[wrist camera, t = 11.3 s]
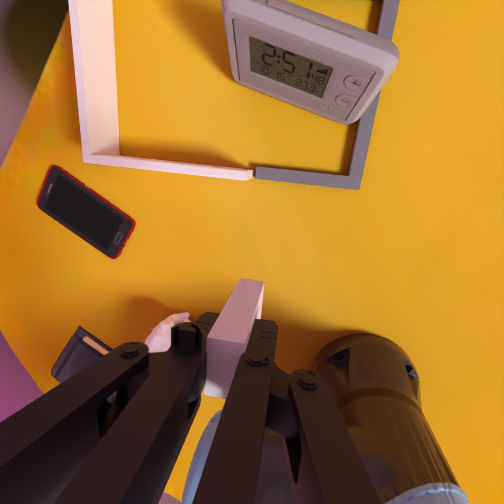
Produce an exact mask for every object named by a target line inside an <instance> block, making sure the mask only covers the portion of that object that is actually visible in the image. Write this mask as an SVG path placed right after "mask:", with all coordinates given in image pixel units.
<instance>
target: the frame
mask: <svg viewBox="0 0 504 504" xmlns="http://www.w3.org/2000/svg"><path fill="white" fill-rule="evenodd" d="M376 1H382V5H381V10H380V15H379V20H378V25H377V30H376V35H378V36H381V37H383V38H386V39H388V40H390V41H391V39H392V35H393V30H394V25H395V21H396V16H397V11H398V7H399V2H400V0H376ZM380 91H381V89H380ZM380 91H379V92H378V94H377V95H376V96H375V98H374V99H373V101H372V102H371V103H370V105H369V106H368V108H367V109H366V110H365V112H364V113H363V114H362V116H361V117H360V118H359V121H358V126H357V131H356V136H355V141H354V146H353V151H352V156H351V161H350V166H349V171H348V176H345V175H335V174H326V173H316V172H307V171H298V170H288V169H279V168H269V167H260V166H257V167H256V177H255V179H264V180H273V181H282V182H291V183H300V184H309V185H318V186H327V187H336V188H345V189H354V190H359V188H360V184H361V179H362V174H363V170H364V165H365V160H366V156H367V151H368V146H369V142H370V137H371V132H372V128H373V123H374V118H375V114H376V109H377V104H378V100H379V95H380Z"/></svg>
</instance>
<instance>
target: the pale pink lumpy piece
mask: <svg viewBox="0 0 504 504" xmlns="http://www.w3.org/2000/svg"><path fill="white" fill-rule="evenodd" d="M189 316H190V314H189V313H188V312H183V313H179V314H173V315H170V316H169V317H167V318H166V319H165V320H163V321H161V322H160V323H159V324H158V325H157V326H156V327H155V328H154V329H153V330H152V332H151V334H150V335H149V336H148V337H147V338H146V341H145V343H144V344H146V345H147V346H148V348H149V353H150V352H165V351H167V350H168V349H169V348H170V346H171V327H173V326H174V325H176V324H179V323H183V322H191V321H190V320H189V319H188V318H189Z"/></svg>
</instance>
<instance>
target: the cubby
mask: <svg viewBox="0 0 504 504" xmlns="http://www.w3.org/2000/svg"><path fill="white" fill-rule="evenodd" d="M68 1H69V12H70V23H71V34H72V45H73V56H74V67H75V78H76V89H77V100H78V111H79V121H80V132H81V143H82V154H83V162H84V163H93V164H102V165H111V166H120V167H129V168H137V169H146V170H155V171H164V172H173V173H182V174H191V175H200V176H209V177H218V178H226V179H235V180H244V181H245V180H248V179H251V178H253V172H254V170H250V169H241V168H232V167H222V166H213V165H204V164H194V163H185V162H176V161H167V160H157V159H148V158H139V157H129V156H120V147H119V127H118V108H117V88H116V69H115V49H114V30H113V10H112V0H68Z"/></svg>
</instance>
